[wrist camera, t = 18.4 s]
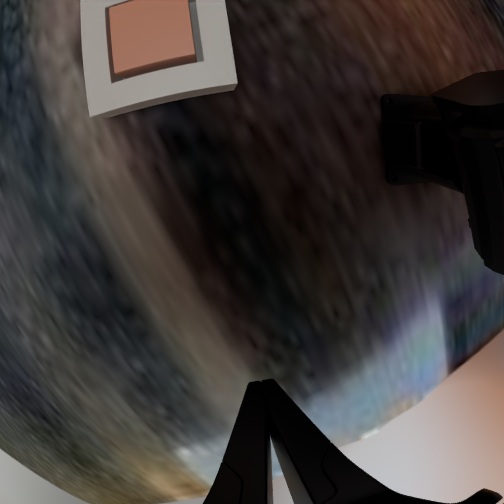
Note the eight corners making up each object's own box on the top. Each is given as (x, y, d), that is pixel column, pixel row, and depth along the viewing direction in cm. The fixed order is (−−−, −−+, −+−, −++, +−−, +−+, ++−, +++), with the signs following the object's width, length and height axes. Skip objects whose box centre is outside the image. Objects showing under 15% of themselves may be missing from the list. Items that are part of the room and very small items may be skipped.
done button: (189, 4, 13) (186, -12, 11) (197, 63, 15) (194, 53, 12) (121, 21, 13) (109, 8, 10) (127, 79, 14) (114, 73, 12)
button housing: (217, -17, 13) (218, -38, 10) (233, 90, 16) (237, 83, 14) (97, 12, 13) (80, -3, 10) (107, 117, 16) (89, 117, 13)
